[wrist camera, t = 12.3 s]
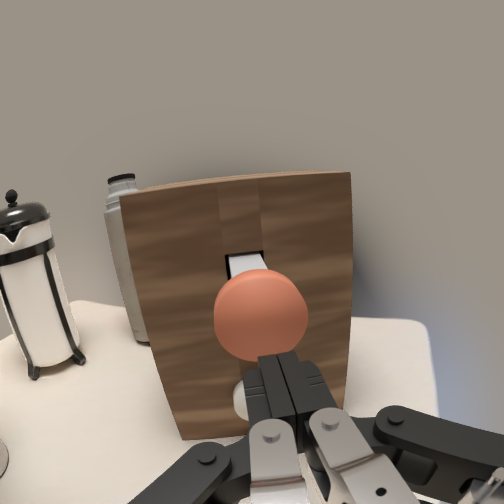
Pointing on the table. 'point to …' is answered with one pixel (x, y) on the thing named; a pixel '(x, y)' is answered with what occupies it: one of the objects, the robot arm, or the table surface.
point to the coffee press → (35, 287)
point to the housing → (218, 273)
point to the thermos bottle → (123, 251)
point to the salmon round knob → (258, 310)
